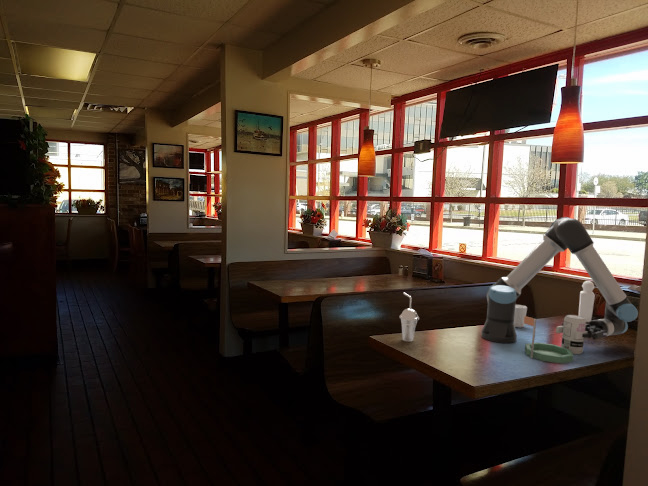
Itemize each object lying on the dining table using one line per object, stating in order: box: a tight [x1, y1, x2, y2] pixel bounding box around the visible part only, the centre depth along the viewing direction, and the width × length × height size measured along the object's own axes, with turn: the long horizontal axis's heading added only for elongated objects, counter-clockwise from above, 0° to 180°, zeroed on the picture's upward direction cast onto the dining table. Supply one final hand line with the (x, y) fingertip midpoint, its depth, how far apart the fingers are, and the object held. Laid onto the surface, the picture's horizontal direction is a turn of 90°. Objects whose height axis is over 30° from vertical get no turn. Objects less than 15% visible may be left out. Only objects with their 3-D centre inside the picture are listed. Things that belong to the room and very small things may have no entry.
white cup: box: [514, 304, 528, 328], centre depth 237 cm, size 8×8×10 cm
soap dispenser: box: [578, 280, 596, 323], centre depth 254 cm, size 6×6×22 cm
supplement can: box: [560, 314, 587, 355], centre depth 198 cm, size 8×8×15 cm
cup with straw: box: [399, 292, 420, 342], centre depth 203 cm, size 8×9×20 cm
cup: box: [524, 315, 574, 364], centre depth 191 cm, size 19×17×16 cm
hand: (566, 332), depth 196 cm, fingers closed on supplement can, 8 cm apart
